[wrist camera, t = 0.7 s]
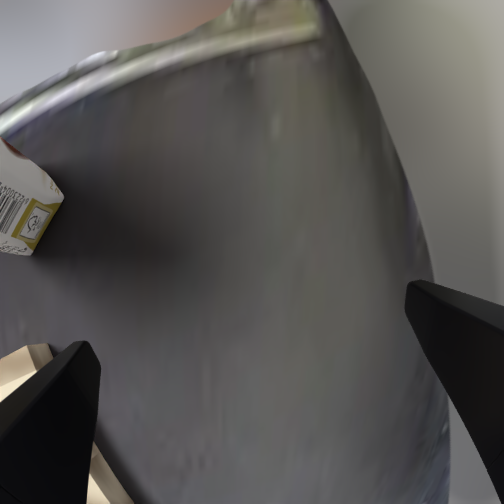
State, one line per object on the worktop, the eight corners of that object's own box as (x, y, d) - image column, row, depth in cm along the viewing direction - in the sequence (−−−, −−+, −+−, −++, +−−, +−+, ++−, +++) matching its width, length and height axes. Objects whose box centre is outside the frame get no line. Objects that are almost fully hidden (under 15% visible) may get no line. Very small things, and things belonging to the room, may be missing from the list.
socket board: (161, 537, 19) (153, 555, 16) (44, 543, 17) (32, 554, 14) (47, 343, 22) (26, 345, 19) (-43, 389, 21) (-61, 392, 18)
